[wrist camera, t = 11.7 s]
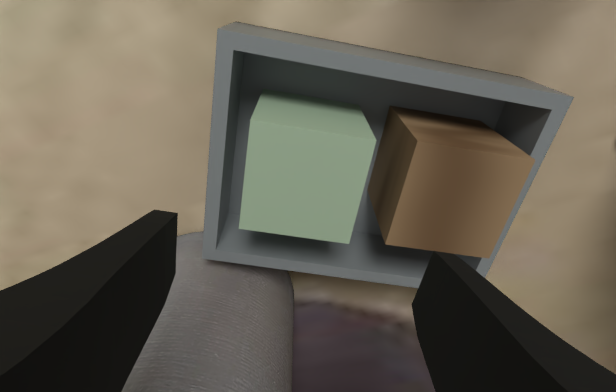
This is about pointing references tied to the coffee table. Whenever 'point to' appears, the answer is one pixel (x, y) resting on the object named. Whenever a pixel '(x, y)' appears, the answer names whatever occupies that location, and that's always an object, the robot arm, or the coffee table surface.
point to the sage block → (305, 166)
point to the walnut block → (444, 182)
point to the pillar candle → (219, 329)
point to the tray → (374, 104)
